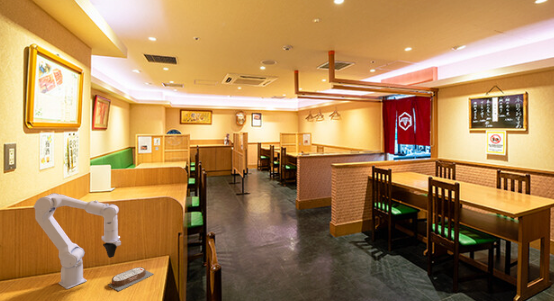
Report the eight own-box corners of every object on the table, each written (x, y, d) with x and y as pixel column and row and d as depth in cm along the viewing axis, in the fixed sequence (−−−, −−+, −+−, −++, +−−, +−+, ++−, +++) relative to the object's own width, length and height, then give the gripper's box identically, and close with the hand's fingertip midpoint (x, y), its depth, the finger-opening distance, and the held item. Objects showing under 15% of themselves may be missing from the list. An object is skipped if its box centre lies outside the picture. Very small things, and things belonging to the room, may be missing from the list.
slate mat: (108, 285, 117) (108, 284, 117) (143, 269, 132) (143, 269, 132) (118, 291, 113) (118, 290, 113) (153, 274, 127) (153, 273, 127)
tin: (108, 282, 119) (115, 290, 114) (108, 276, 119) (116, 283, 114) (140, 270, 131) (148, 276, 126) (141, 264, 131) (149, 270, 126)
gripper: (127, 230, 124) (127, 257, 124) (112, 225, 131) (112, 250, 131) (111, 234, 117) (112, 263, 118) (96, 228, 125) (97, 255, 125)
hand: (111, 256), depth 124 cm, fingers closed
